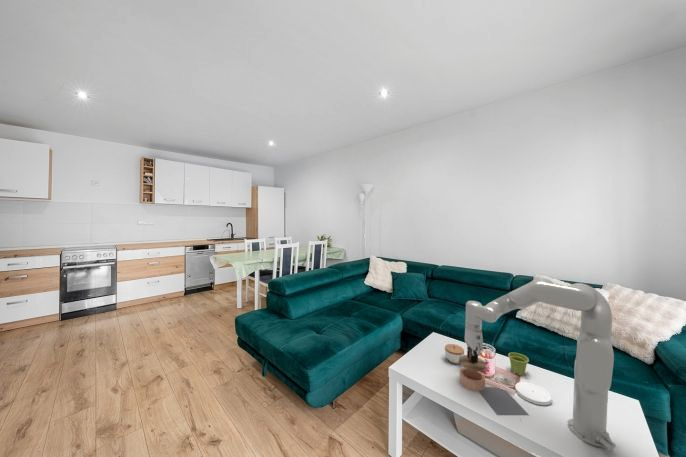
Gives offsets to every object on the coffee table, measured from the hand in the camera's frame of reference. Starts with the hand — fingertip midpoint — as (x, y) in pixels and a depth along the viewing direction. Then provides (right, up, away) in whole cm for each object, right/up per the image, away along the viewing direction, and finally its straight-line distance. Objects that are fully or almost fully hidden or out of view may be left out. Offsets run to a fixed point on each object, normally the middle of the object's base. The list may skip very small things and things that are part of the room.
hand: (472, 359), depth 129 cm
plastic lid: (+25, -14, -8) cm, 30 cm away
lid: (0, -2, 0) cm, 2 cm away
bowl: (0, -13, 0) cm, 13 cm away
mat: (+7, -13, -12) cm, 19 cm away
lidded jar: (0, -12, +21) cm, 25 cm away
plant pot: (+31, -13, +10) cm, 35 cm away
